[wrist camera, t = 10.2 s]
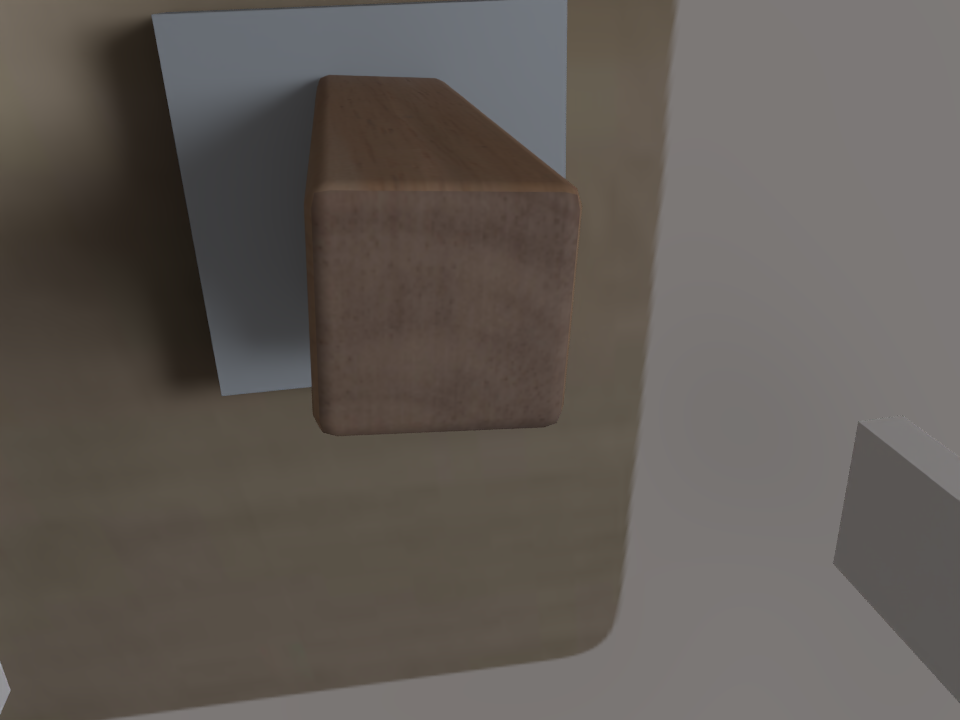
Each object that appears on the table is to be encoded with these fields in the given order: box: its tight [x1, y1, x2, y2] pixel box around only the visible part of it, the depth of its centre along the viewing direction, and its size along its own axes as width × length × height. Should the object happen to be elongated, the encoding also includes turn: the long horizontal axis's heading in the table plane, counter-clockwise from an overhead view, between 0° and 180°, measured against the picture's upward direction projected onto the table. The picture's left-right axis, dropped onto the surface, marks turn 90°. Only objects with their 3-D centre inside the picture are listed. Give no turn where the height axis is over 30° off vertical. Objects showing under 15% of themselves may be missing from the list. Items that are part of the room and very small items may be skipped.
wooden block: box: [304, 75, 582, 436], centre depth 23 cm, size 9×4×18 cm, turn 177°
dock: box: [152, 0, 567, 396], centre depth 32 cm, size 14×14×3 cm
